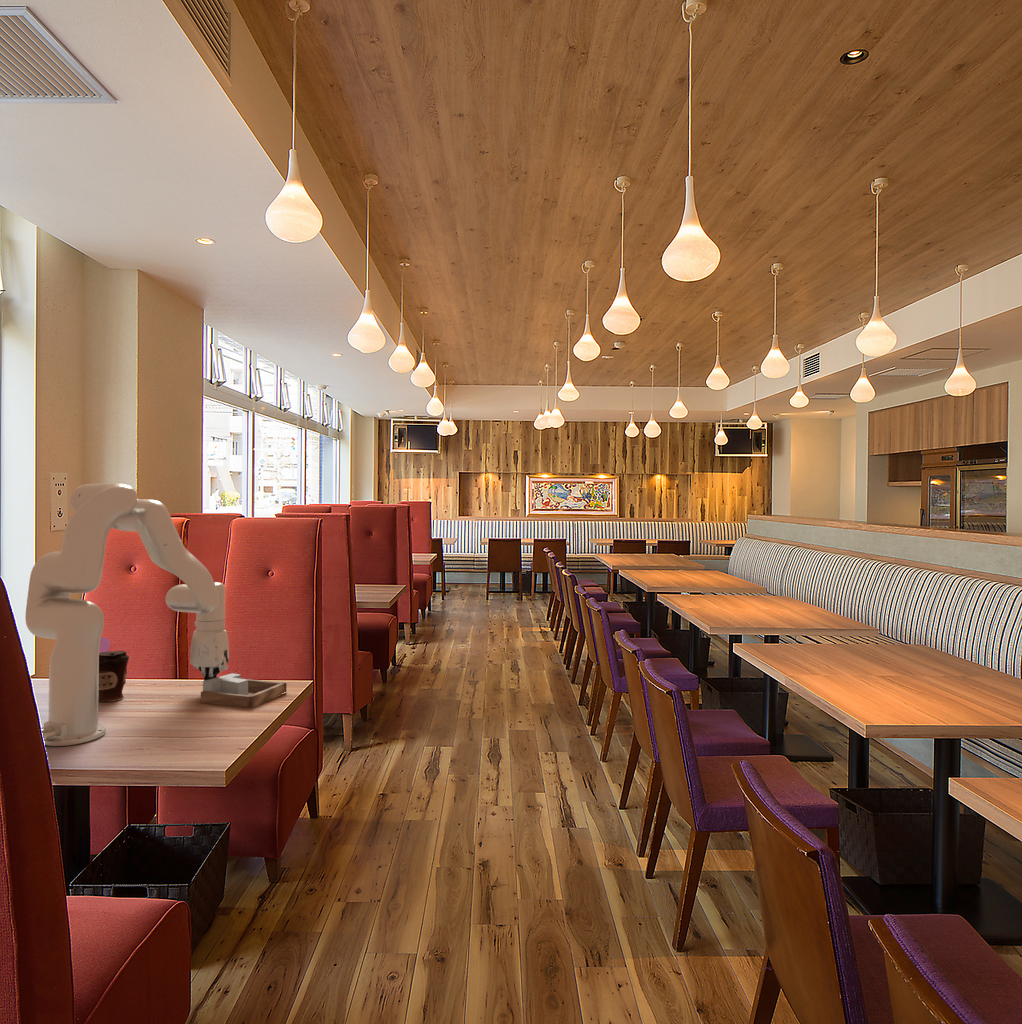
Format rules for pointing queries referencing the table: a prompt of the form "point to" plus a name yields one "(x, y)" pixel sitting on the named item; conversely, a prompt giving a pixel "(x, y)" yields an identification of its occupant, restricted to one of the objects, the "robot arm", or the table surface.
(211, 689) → the tee block
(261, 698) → the corral
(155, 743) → the table surface
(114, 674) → the coffee cup
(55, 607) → the robot arm
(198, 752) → the table surface
